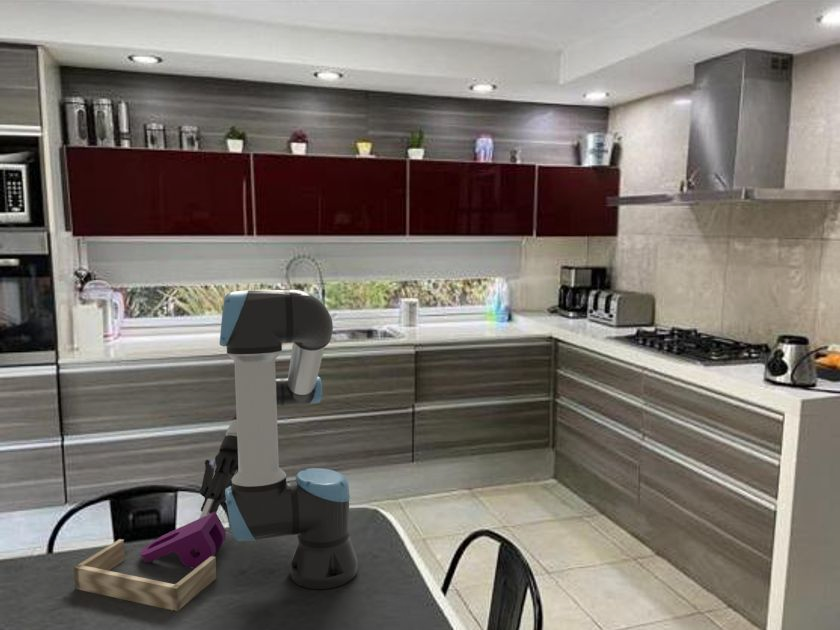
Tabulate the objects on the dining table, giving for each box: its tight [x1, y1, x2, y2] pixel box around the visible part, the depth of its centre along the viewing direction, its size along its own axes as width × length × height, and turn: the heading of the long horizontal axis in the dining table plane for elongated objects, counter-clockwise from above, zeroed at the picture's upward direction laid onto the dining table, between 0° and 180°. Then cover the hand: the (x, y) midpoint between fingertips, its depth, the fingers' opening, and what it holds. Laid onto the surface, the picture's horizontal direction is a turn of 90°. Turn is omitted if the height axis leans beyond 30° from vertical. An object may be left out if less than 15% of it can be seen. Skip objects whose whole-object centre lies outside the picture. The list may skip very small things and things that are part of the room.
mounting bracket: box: [139, 512, 227, 569], centre depth 151 cm, size 9×8×18 cm
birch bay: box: [73, 538, 217, 612], centre depth 140 cm, size 26×13×5 cm, turn 72°
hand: (202, 525), depth 159 cm, fingers closed
